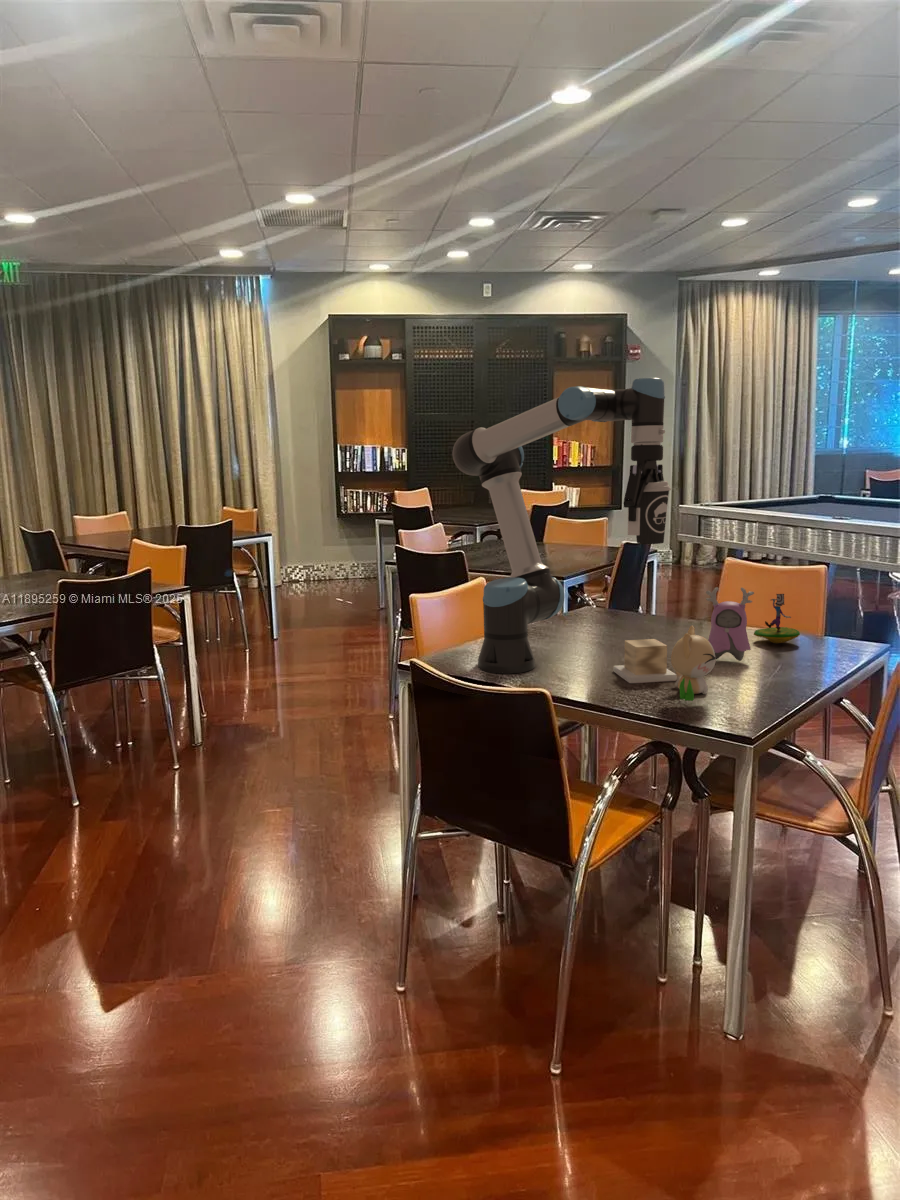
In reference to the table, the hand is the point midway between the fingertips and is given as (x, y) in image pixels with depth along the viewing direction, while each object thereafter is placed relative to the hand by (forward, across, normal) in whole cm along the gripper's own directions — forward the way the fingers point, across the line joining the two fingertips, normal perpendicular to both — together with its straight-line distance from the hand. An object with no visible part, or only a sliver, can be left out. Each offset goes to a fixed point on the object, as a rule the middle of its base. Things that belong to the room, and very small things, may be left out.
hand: (645, 533), depth 201 cm
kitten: (+36, -8, -16) cm, 41 cm away
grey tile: (+36, 0, -1) cm, 36 cm away
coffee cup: (+3, +3, 0) cm, 4 cm away
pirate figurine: (+36, +56, -17) cm, 68 cm away
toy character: (+36, +27, -12) cm, 47 cm away
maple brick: (+35, 0, -1) cm, 35 cm away
